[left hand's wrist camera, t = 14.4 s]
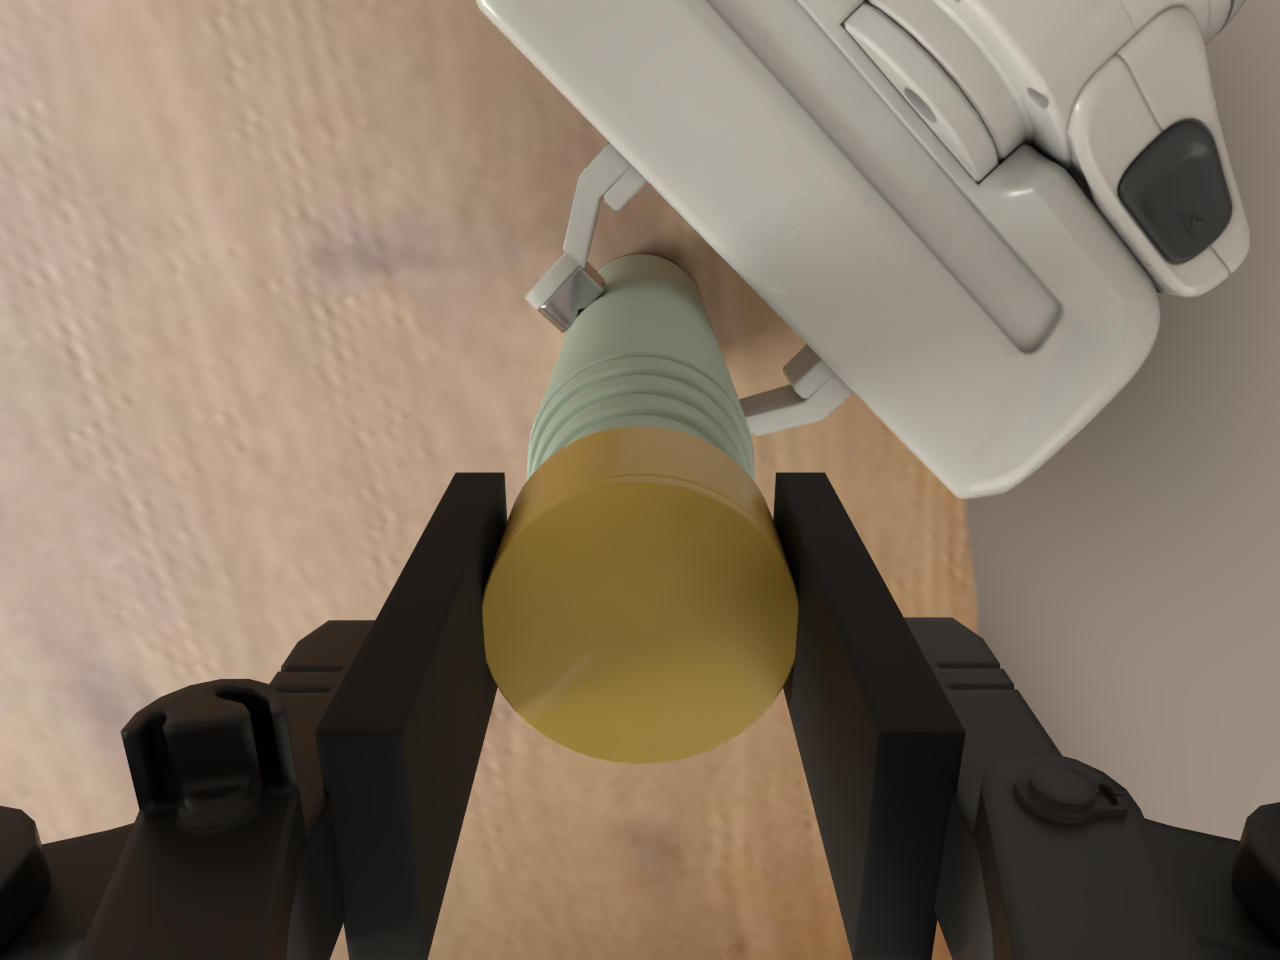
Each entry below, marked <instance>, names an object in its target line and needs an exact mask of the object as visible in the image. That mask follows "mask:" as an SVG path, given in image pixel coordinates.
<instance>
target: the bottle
mask: <svg viewBox="0 0 1280 960" xmlns="http://www.w3.org/2000/svg"><path fill="white" fill-rule="evenodd" d="M597 272H598V273H599V274H600V275H601V276H602V277H603V278H604V279H605V280H606V285H605V289H604V291H603V292H602V293H601V294H600V295H599V296H598V298H597V299H596V300H595V301H594V302H593V303H592V304H590V305H589V306H588V307H587V308H583V309H580V311H579V314H578V317H577V318H576V320H575V321H574V323H573V324H572V325H571V326H570V327H569V329H568V332H567V334H566V337H565V340H564V342H563V345H562V348H561V350H560V353H559V356H558V359H557V361H556V364H555V367H554V369H553V372H552V375H551V378H550V380H549V383H548V386H547V388H546V391H545V394H544V396H543V399H542V402H541V405H540V407H539V410H538V413H537V415H536V418H535V421H534V424H533V427H532V430H531V434H530V439H529V445H528V460H527V481H528V479H529V478H530V477H531V475H532V474H533V473H534V472H535V471H536V470H537V469H538V468H539V467H540V466H541V465H542V464H543V463H544V462H545V461H546V460H547V459H548V458H550V457H551V456H552V455H554V454H555V453H556V452H557V451H559V450H560V449H562V448H564V447H565V446H567V445H569V444H571V443H572V442H574V441H576V440H578V439H581V438H583V437H586V436H588V435H590V434H593V433H597V432H600V431H604V430H608V429H612V428H619V427H627V426H653V427H662V428H668V429H673V430H677V431H681V432H685V433H687V434H690V435H693V436H695V437H698V438H701V439H703V440H705V441H707V442H708V443H710V444H712V445H714V446H716V447H718V448H719V449H720V450H722V451H723V452H725V453H726V454H727V455H729V456H730V457H732V458H733V459H734V460H735V461H736V462H737V463H738V464H739V465H740V466H741V467H742V468H743V469H744V470H745V471H746V472H747V473H748V474H749V476H750V477H751V478H752V479H753V481H754V459H753V444H752V438H751V433H750V430H749V427H748V424H747V421H746V418H745V415H744V412H743V410H742V407H741V404H740V402H739V399H738V396H737V393H736V391H735V388H734V385H733V383H732V380H731V377H730V375H729V372H728V369H727V366H726V364H725V361H724V358H723V356H722V353H721V350H720V347H719V345H718V342H717V339H716V337H715V334H714V331H713V329H712V326H711V323H710V320H709V318H708V315H707V312H706V310H705V307H704V304H703V301H702V299H701V296H700V294H699V291H698V289H697V287H696V285H695V284H694V282H693V281H692V279H691V278H690V277H689V276H688V275H687V274H686V273H685V272H684V271H683V270H682V269H681V268H680V267H678V266H677V265H675V264H674V263H672V262H670V261H668V260H666V259H664V258H661V257H658V256H654V255H649V254H632V255H627V256H623V257H620V258H617V259H615V260H613V261H611V262H609V263H607V264H606V265H604V266H603V267H601V268H600V269H599V270H598V271H597Z"/></svg>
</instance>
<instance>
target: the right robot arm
mask: <svg viewBox="0 0 1280 960" xmlns="http://www.w3.org/2000/svg"><path fill="white" fill-rule="evenodd" d="M476 2H477V5H478V7H479V9H480V10H481V11H482V12H483V13H484V14H485V15H486V16H487V17H488V18H489V19H490V20H491V22H492V23H493V24H494V25H495V26H496V27H497V28H498V29H499V30H500V31H501V32H502V33H503V34H504V35H505V36H506V37H507V38H508V39H509V40H510V41H511V42H512V43H513V44H514V45H515V46H516V47H517V48H518V49H519V50H520V51H521V52H522V53H523V54H524V55H525V56H526V57H527V58H528V59H529V60H530V61H531V62H532V63H533V65H534V66H535V67H536V68H537V69H538V70H539V71H540V72H541V73H542V74H543V75H544V76H545V77H546V78H547V79H548V80H549V81H550V82H551V83H552V84H553V85H554V86H555V87H556V88H557V89H558V90H559V91H560V92H561V93H562V94H563V95H564V96H565V97H566V98H567V99H568V100H569V101H570V102H571V103H572V104H573V105H574V106H575V107H576V108H577V110H578V111H579V112H580V113H581V114H582V115H583V116H584V117H585V118H586V119H587V120H588V121H589V122H590V123H591V124H592V125H593V126H594V127H595V128H596V129H597V130H598V131H599V132H600V133H601V134H602V135H603V136H604V137H605V138H606V139H607V140H608V141H609V143H608V144H607V145H606V146H605V147H604V148H603V150H602V151H601V152H600V153H599V154H598V155H597V156H596V157H595V159H594V160H593V161H592V162H591V163H590V164H589V165H588V166H587V167H586V169H585V170H584V171H583V172H582V173H581V174H580V175H579V177H578V182H577V186H576V191H575V196H574V200H573V205H572V209H571V214H570V218H569V223H568V228H567V232H566V237H565V241H564V246H563V250H564V251H565V252H564V253H563V254H562V255H561V256H560V257H559V258H558V259H557V261H556V262H555V263H554V264H553V265H552V266H551V267H550V268H549V269H548V270H547V271H546V273H545V274H544V275H543V276H542V277H541V278H540V279H539V280H538V281H537V283H536V284H535V285H534V286H533V287H532V288H531V290H530V291H529V292H528V293H527V295H526V296H525V297H524V298H525V299H526V300H527V301H528V302H529V303H530V304H531V305H532V306H533V307H534V308H535V309H536V310H538V311H539V312H540V313H541V314H542V315H543V316H544V317H545V318H546V319H548V320H549V321H550V322H551V323H552V324H553V325H554V326H555V327H556V328H557V329H559V330H560V331H561V332H562V333H563V332H565V331H566V330H567V329H568V328H569V327H570V326H571V325H572V324H573V323H574V321H575V320H576V318H577V317H578V314H579V311H580V309H583V308H587V307H588V306H589V305H590V304H592V303H593V302H594V301H595V300H596V299H597V298H598V296H599V295H600V294H601V293H602V292H603V291H604V289H605V285H606V280H605V279H604V278H603V277H602V276H601V275H600V274H599V273H598V272H597V271H596V270H595V269H594V268H593V267H592V266H591V265H590V264H589V263H588V262H587V260H588V256H589V251H590V247H591V243H592V239H593V234H594V230H595V226H596V222H597V217H598V213H599V209H600V205H601V200H602V196H603V195H604V198H605V202H606V203H607V204H608V205H609V206H610V207H611V208H613V209H614V210H621V208H622V207H623V206H624V205H625V204H626V203H627V202H628V201H629V200H630V199H631V198H632V197H633V196H634V195H635V194H636V193H637V192H638V191H639V190H640V189H641V188H642V186H643V185H644V184H645V183H646V182H647V181H648V182H649V183H650V184H651V185H652V186H653V187H654V188H655V189H656V190H657V191H658V192H659V193H660V194H661V195H662V196H663V198H664V199H665V200H666V201H667V202H668V203H669V204H670V205H671V206H672V207H673V208H674V209H675V210H676V211H677V212H678V213H679V214H680V215H681V216H682V217H683V218H684V219H685V220H686V221H687V222H688V223H689V224H690V225H691V226H692V227H693V228H694V229H695V230H696V231H697V232H698V233H699V234H700V235H701V236H702V237H703V238H704V239H705V240H706V242H707V243H708V244H709V245H710V246H711V247H712V248H713V249H714V250H715V251H716V252H717V253H718V254H719V255H720V256H721V257H722V258H723V259H724V260H725V261H726V262H727V263H728V264H729V265H730V266H731V267H732V268H733V269H734V270H735V271H736V272H737V273H738V274H739V275H740V276H741V277H742V278H743V279H744V280H745V281H746V282H747V283H748V284H749V286H750V287H751V288H752V289H753V290H754V291H755V292H756V293H757V294H758V295H759V296H760V297H761V298H762V299H763V300H764V301H765V302H766V303H767V304H768V305H769V306H770V307H771V308H772V309H773V310H774V311H775V312H776V313H777V314H778V315H779V316H780V317H781V318H782V319H783V320H784V321H785V322H786V323H787V324H788V325H789V326H790V327H791V328H792V330H793V331H794V332H795V333H796V334H797V335H798V336H799V337H800V338H801V339H802V340H803V341H804V342H805V343H806V344H807V345H806V346H805V347H804V348H803V349H802V350H801V351H800V352H799V353H797V354H796V355H795V356H794V357H793V358H792V359H791V360H790V361H789V362H788V363H787V364H786V365H785V366H784V368H783V372H784V374H785V376H786V377H787V379H788V381H789V382H790V385H787V386H783V387H780V388H777V389H773V390H770V391H766V392H763V393H760V394H756V395H753V396H749V397H746V398H743V399H739V402H740V404H741V407H742V410H743V412H744V415H745V418H746V421H747V424H748V427H749V430H750V433H751V436H752V435H753V434H754V435H756V436H760V435H764V434H768V433H772V432H777V431H781V430H785V429H789V428H793V427H797V426H801V425H805V424H810V423H814V422H818V421H822V420H824V419H825V418H826V417H827V416H828V415H829V414H830V413H831V412H832V411H833V410H834V409H836V408H837V407H838V406H839V405H840V404H841V403H842V402H843V401H844V400H845V399H847V398H848V397H849V396H850V395H851V394H852V393H853V392H854V393H855V394H856V395H857V396H858V397H859V398H860V399H861V400H862V401H863V402H864V403H865V404H866V405H867V406H868V407H869V408H870V409H871V410H872V411H873V412H874V413H875V414H876V415H877V416H878V418H879V419H880V420H881V421H882V422H883V423H884V424H885V425H886V426H887V427H888V428H889V429H890V430H891V431H892V432H893V433H894V434H895V435H896V436H897V437H898V438H899V439H900V440H901V441H902V442H903V443H904V444H905V445H906V446H907V447H908V448H909V449H910V450H911V451H912V452H913V453H914V454H915V455H916V456H917V457H918V458H919V459H920V460H921V462H922V463H923V464H924V465H925V466H926V467H927V468H928V469H929V470H930V471H931V472H932V473H933V474H934V475H935V476H936V477H937V478H938V479H939V480H940V481H941V482H942V483H943V484H944V485H945V486H946V487H947V488H948V489H949V490H950V491H951V492H952V493H953V494H954V495H955V496H956V497H958V498H962V499H969V498H979V497H985V496H992V495H998V494H1002V493H1005V492H1007V491H1009V490H1011V489H1012V488H1014V487H1015V486H1017V485H1018V484H1020V483H1021V482H1022V481H1024V480H1025V479H1026V478H1027V477H1029V476H1030V475H1031V474H1032V473H1034V472H1035V471H1036V470H1037V469H1038V468H1039V467H1041V466H1042V465H1043V464H1044V463H1045V462H1047V461H1048V460H1049V459H1050V458H1051V457H1052V456H1053V455H1055V454H1056V453H1057V452H1058V451H1059V450H1060V449H1061V448H1062V447H1064V446H1065V445H1066V444H1067V443H1068V442H1069V441H1070V440H1071V439H1072V438H1073V437H1074V436H1076V435H1077V434H1078V433H1079V432H1080V431H1081V430H1082V429H1083V428H1084V427H1085V426H1086V425H1087V424H1088V423H1089V422H1090V421H1091V420H1092V419H1093V418H1094V417H1095V416H1096V415H1097V414H1098V413H1099V412H1100V411H1101V410H1102V409H1103V408H1104V407H1105V406H1106V405H1107V404H1108V403H1109V402H1110V401H1111V400H1112V399H1113V398H1114V397H1115V396H1116V395H1117V394H1118V393H1119V392H1120V391H1121V390H1122V389H1123V388H1124V387H1125V385H1126V384H1127V383H1128V382H1129V381H1130V380H1131V379H1132V377H1133V376H1134V375H1135V374H1136V373H1137V371H1138V370H1139V369H1140V367H1141V366H1142V364H1143V363H1144V362H1145V360H1146V359H1147V357H1148V355H1149V353H1150V352H1151V350H1152V348H1153V345H1154V343H1155V341H1156V338H1157V335H1158V331H1159V327H1160V320H1161V308H1160V301H1159V297H1158V294H1157V292H1158V293H1162V294H1169V295H1175V296H1182V297H1196V296H1200V295H1202V294H1204V293H1206V292H1208V291H1210V290H1211V289H1213V288H1214V287H1216V286H1217V285H1219V284H1220V283H1221V282H1223V281H1224V280H1225V279H1226V278H1227V277H1229V275H1231V274H1232V273H1233V272H1234V271H1235V270H1236V269H1237V268H1238V267H1239V266H1240V265H1241V264H1242V262H1243V261H1244V260H1245V258H1246V256H1247V254H1248V252H1249V248H1250V229H1249V224H1248V220H1247V216H1246V213H1245V209H1244V206H1243V203H1242V199H1241V196H1240V192H1239V189H1238V186H1237V182H1236V179H1235V175H1234V172H1233V168H1232V165H1231V161H1230V157H1229V154H1228V150H1227V146H1226V142H1225V139H1224V135H1223V131H1222V126H1221V122H1220V118H1219V114H1218V110H1217V105H1216V100H1215V95H1214V91H1213V86H1212V80H1211V74H1210V68H1209V63H1208V56H1207V51H1206V44H1207V43H1208V42H1209V41H1210V40H1211V39H1213V38H1214V37H1215V36H1216V35H1217V34H1218V33H1219V32H1220V31H1221V30H1222V29H1223V28H1224V27H1225V26H1226V25H1227V24H1228V23H1229V22H1230V21H1231V20H1232V19H1233V17H1234V16H1235V15H1236V13H1237V12H1238V11H1239V9H1240V8H1241V7H1242V5H1243V4H1244V2H1245V0H476Z"/></svg>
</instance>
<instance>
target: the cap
mask: <svg viewBox="0 0 1280 960" xmlns="http://www.w3.org/2000/svg"><path fill="white" fill-rule="evenodd" d="M798 607H799V598H798V594H797V590H796V586H795V582H794V579H793V577H792V574H791V571H790V568H789V565H788V562H787V559H786V556H785V553H784V550H783V548H782V545H781V542H780V539H779V536H778V533H777V530H776V527H775V524H774V521H773V518H772V516H771V513H770V510H769V508H768V506H767V503H766V501H765V498H764V497H763V495H762V493H761V491H760V490H759V488H758V486H757V485H756V483H755V482H754V481H753V479H752V478H751V477H750V476H749V474H748V473H747V472H746V471H745V470H744V469H743V468H742V467H741V466H740V465H739V464H738V463H737V462H736V461H735V460H734V459H733V458H732V457H730V456H729V455H727V454H726V453H725V452H723V451H722V450H720V449H719V448H718V447H716V446H714V445H712V444H710V443H708V442H707V441H705V440H703V439H701V438H698V437H695V436H693V435H690V434H687V433H685V432H681V431H677V430H673V429H668V428H662V427H653V426H627V427H619V428H612V429H608V430H604V431H600V432H597V433H593V434H590V435H588V436H586V437H583V438H581V439H578V440H576V441H574V442H572V443H571V444H569V445H567V446H565V447H564V448H562V449H560V450H559V451H557V452H556V453H555V454H554V455H552V456H551V457H550V458H548V459H547V460H546V461H545V462H544V463H543V464H542V465H541V466H540V467H539V468H538V469H537V470H536V471H535V472H534V473H533V474H532V475H531V477H530V478H529V479H528V481H527V482H526V483H525V485H524V486H523V488H522V489H521V491H520V493H519V495H518V497H517V499H516V500H515V502H514V505H513V508H512V510H511V513H510V516H509V519H508V521H507V524H506V527H505V530H504V533H503V536H502V539H501V542H500V545H499V548H498V551H497V554H496V557H495V560H494V563H493V565H492V568H491V571H490V574H489V577H488V580H487V583H486V586H485V590H484V594H483V599H482V614H483V629H484V643H485V656H486V662H487V664H488V667H489V669H490V672H491V674H492V677H493V679H494V681H495V682H496V684H497V686H498V688H499V689H500V691H501V693H502V695H503V696H504V697H505V698H506V700H507V701H508V702H509V704H510V705H511V706H512V708H513V709H514V710H515V711H516V712H517V713H518V714H519V715H520V716H521V717H522V718H523V719H524V720H525V721H526V722H527V723H528V724H530V725H531V726H532V727H533V728H535V729H536V730H537V731H539V732H540V733H541V734H543V735H544V736H546V737H548V738H549V739H551V740H553V741H554V742H556V743H558V744H560V745H562V746H564V747H566V748H568V749H571V750H573V751H575V752H578V753H581V754H584V755H587V756H590V757H593V758H597V759H602V760H607V761H612V762H620V763H631V764H648V763H660V762H669V761H675V760H679V759H683V758H687V757H692V756H694V755H697V754H700V753H703V752H706V751H708V750H711V749H713V748H715V747H717V746H719V745H721V744H723V743H725V742H727V741H729V740H730V739H732V738H733V737H735V736H736V735H738V734H740V733H741V732H743V731H744V730H745V729H746V728H748V727H749V726H750V725H751V724H752V723H754V722H755V721H756V720H757V719H758V718H759V717H760V716H761V715H762V714H763V713H764V712H765V711H766V710H767V709H768V708H769V707H770V705H771V704H772V703H773V701H774V700H775V698H776V697H777V696H778V694H779V693H780V691H781V690H782V688H783V686H784V684H785V682H786V680H787V679H788V677H789V675H790V673H791V670H792V667H793V664H794V661H795V651H796V637H797V622H798Z"/></svg>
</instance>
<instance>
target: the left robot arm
mask: <svg viewBox="0 0 1280 960" xmlns="http://www.w3.org/2000/svg"><path fill="white" fill-rule="evenodd" d="M773 521H774V524H775V527H776V530H777V533H778V536H779V539H780V542H781V545H782V548H783V550H784V553H785V556H786V559H787V562H788V565H789V568H790V571H791V574H792V577H793V579H794V582H795V586H796V590H797V594H798V598H799V607H798V622H797V637H796V651H795V661H794V664H793V667H792V670H791V673H790V675H789V677H788V679H787V680H786V682H785V684H784V686H783V689H784V693H785V697H786V701H787V705H788V709H789V713H790V716H791V720H792V724H793V728H794V732H795V736H796V740H797V744H798V748H799V751H800V755H801V759H802V763H803V767H804V771H805V775H806V779H807V783H808V786H809V790H810V794H811V798H812V802H813V806H814V810H815V814H816V818H817V821H818V825H819V829H820V833H821V837H822V841H823V845H824V849H825V853H826V856H827V860H828V864H829V868H830V872H831V876H832V880H833V884H834V888H835V891H836V895H837V899H838V903H839V907H840V911H841V915H842V919H843V923H844V926H845V930H846V934H847V938H848V942H849V946H850V950H851V954H852V958H853V960H931V958H932V951H933V945H934V938H935V932H936V925H937V919H938V922H939V925H940V927H941V930H942V933H943V935H944V938H945V940H946V943H947V946H948V948H949V951H950V954H951V956H952V959H953V960H1280V802H1279V803H1273V804H1267V805H1262V806H1260V807H1259V808H1257V809H1256V810H1255V811H1254V812H1253V813H1252V814H1251V815H1250V816H1248V817H1247V820H1246V823H1245V827H1244V830H1243V833H1242V837H1241V840H1240V841H1238V840H1233V839H1228V838H1224V837H1219V836H1214V835H1210V834H1205V833H1201V832H1196V831H1191V830H1187V829H1182V828H1178V827H1173V826H1169V825H1166V824H1162V823H1159V822H1155V821H1152V820H1148V819H1145V818H1144V816H1143V814H1142V812H1141V809H1140V808H1139V807H1138V805H1137V804H1136V802H1135V801H1134V800H1133V798H1132V797H1131V795H1130V794H1129V793H1128V791H1127V790H1126V789H1125V788H1124V787H1122V786H1121V785H1120V784H1118V783H1117V782H1116V781H1114V780H1113V779H1112V778H1110V777H1109V776H1108V775H1106V774H1105V773H1104V772H1102V771H1100V770H1098V769H1095V768H1093V767H1091V766H1089V765H1087V764H1084V763H1082V762H1080V761H1078V760H1076V759H1072V758H1068V757H1064V756H1062V755H1061V753H1060V752H1059V750H1058V749H1057V747H1056V746H1055V744H1054V743H1053V741H1052V740H1051V738H1050V737H1049V735H1048V734H1047V732H1046V731H1045V730H1044V728H1043V727H1042V725H1041V724H1040V722H1039V721H1038V719H1037V718H1036V716H1035V715H1034V713H1033V712H1032V710H1031V709H1030V707H1029V706H1028V704H1027V703H1026V702H1025V700H1024V699H1023V697H1022V696H1021V694H1020V693H1019V691H1018V690H1014V684H1013V682H1012V681H1011V680H1010V678H1009V676H1008V675H1007V674H1006V672H1005V671H1004V669H1000V663H999V662H998V660H997V659H996V657H995V656H994V654H993V653H992V651H991V650H990V648H989V647H988V645H987V644H986V643H985V641H984V640H983V639H982V638H981V637H980V636H978V635H977V634H975V633H974V632H972V631H971V630H969V629H968V628H967V627H965V626H964V625H962V624H961V623H959V622H958V621H956V620H955V619H953V618H904V617H903V615H902V614H901V612H900V610H899V608H898V606H897V604H896V603H895V601H894V599H893V597H892V595H891V593H890V592H889V590H888V588H887V586H886V584H885V582H884V581H883V579H882V577H881V575H880V573H879V571H878V569H877V568H876V566H875V564H874V562H873V560H872V558H871V557H870V555H869V553H868V551H867V549H866V547H865V546H864V544H863V542H862V540H861V538H860V536H859V535H858V533H857V531H856V529H855V527H854V525H853V524H852V522H851V520H850V518H849V516H848V514H847V512H846V511H845V509H844V507H843V505H842V503H841V501H840V500H839V498H838V496H837V494H836V492H835V490H834V489H833V487H832V485H831V483H830V481H829V479H828V478H827V476H826V474H825V473H776V483H775V500H774V518H773ZM506 524H507V509H506V491H505V473H455V475H454V477H453V479H452V480H451V482H450V484H449V486H448V488H447V490H446V491H445V493H444V495H443V497H442V499H441V501H440V502H439V504H438V506H437V508H436V510H435V512H434V514H433V515H432V517H431V519H430V521H429V523H428V525H427V526H426V528H425V530H424V532H423V534H422V536H421V537H420V539H419V541H418V543H417V545H416V547H415V548H414V550H413V552H412V554H411V556H410V558H409V560H408V561H407V563H406V565H405V567H404V569H403V571H402V572H401V574H400V576H399V578H398V580H397V582H396V583H395V585H394V587H393V589H392V591H391V593H390V594H389V596H388V598H387V600H386V602H385V604H384V606H383V607H382V609H381V611H380V613H379V615H378V617H377V618H376V620H329V621H327V622H326V623H324V624H323V625H322V626H320V627H319V628H317V629H316V630H314V631H313V632H311V633H310V634H309V635H307V636H306V637H304V638H303V639H301V640H300V641H299V642H298V643H297V644H296V646H295V647H294V649H293V650H292V652H291V653H290V655H289V656H288V657H287V659H286V660H285V662H284V663H283V665H282V666H281V672H277V674H276V675H275V677H274V678H273V680H272V681H271V683H270V684H266V683H262V682H259V681H255V680H251V679H219V680H214V681H209V682H205V683H200V684H195V685H190V686H187V687H185V688H182V689H180V690H177V691H175V692H172V693H170V694H167V695H165V696H162V697H160V698H158V699H157V700H155V701H154V702H152V703H151V704H149V705H148V706H146V707H145V708H143V709H142V710H140V711H139V712H137V713H136V714H135V715H134V716H133V717H132V718H131V720H130V721H129V722H128V723H127V724H126V726H125V727H124V728H123V729H122V730H121V735H122V739H123V743H124V747H125V751H126V756H127V760H128V764H129V768H130V772H131V776H132V780H133V784H134V789H135V793H136V797H137V801H138V805H139V809H140V811H139V813H138V816H137V818H136V820H135V823H132V824H129V825H125V826H122V827H118V828H115V829H111V830H107V831H103V832H98V833H93V834H89V835H84V836H80V837H75V838H70V839H66V840H61V841H56V842H52V843H47V844H43V845H42V844H41V841H40V837H39V834H38V831H37V827H36V824H35V821H34V820H32V819H31V818H30V817H29V816H28V815H27V814H26V813H25V812H23V811H22V810H20V809H15V808H9V807H4V806H0V960H330V957H331V955H332V952H333V949H334V947H335V944H336V941H337V939H338V936H339V933H340V931H341V928H342V925H343V923H344V928H345V934H346V941H347V948H348V954H349V960H428V956H429V952H430V948H431V944H432V940H433V936H434V932H435V929H436V925H437V921H438V917H439V913H440V909H441V905H442V901H443V897H444V894H445V890H446V886H447V882H448V878H449V874H450V870H451V866H452V862H453V859H454V855H455V851H456V847H457V843H458V839H459V835H460V831H461V827H462V824H463V820H464V816H465V812H466V808H467V804H468V800H469V796H470V792H471V789H472V785H473V781H474V777H475V773H476V769H477V765H478V761H479V757H480V754H481V750H482V746H483V742H484V738H485V734H486V730H487V726H488V722H489V719H490V715H491V711H492V707H493V703H494V699H495V695H496V691H497V687H498V686H497V684H496V682H495V681H494V679H493V677H492V674H491V672H490V669H489V667H488V664H487V662H486V656H485V643H484V629H483V614H482V599H483V594H484V590H485V586H486V583H487V580H488V577H489V574H490V571H491V568H492V565H493V563H494V560H495V557H496V554H497V551H498V548H499V545H500V542H501V539H502V536H503V533H504V530H505V527H506Z"/></svg>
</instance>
